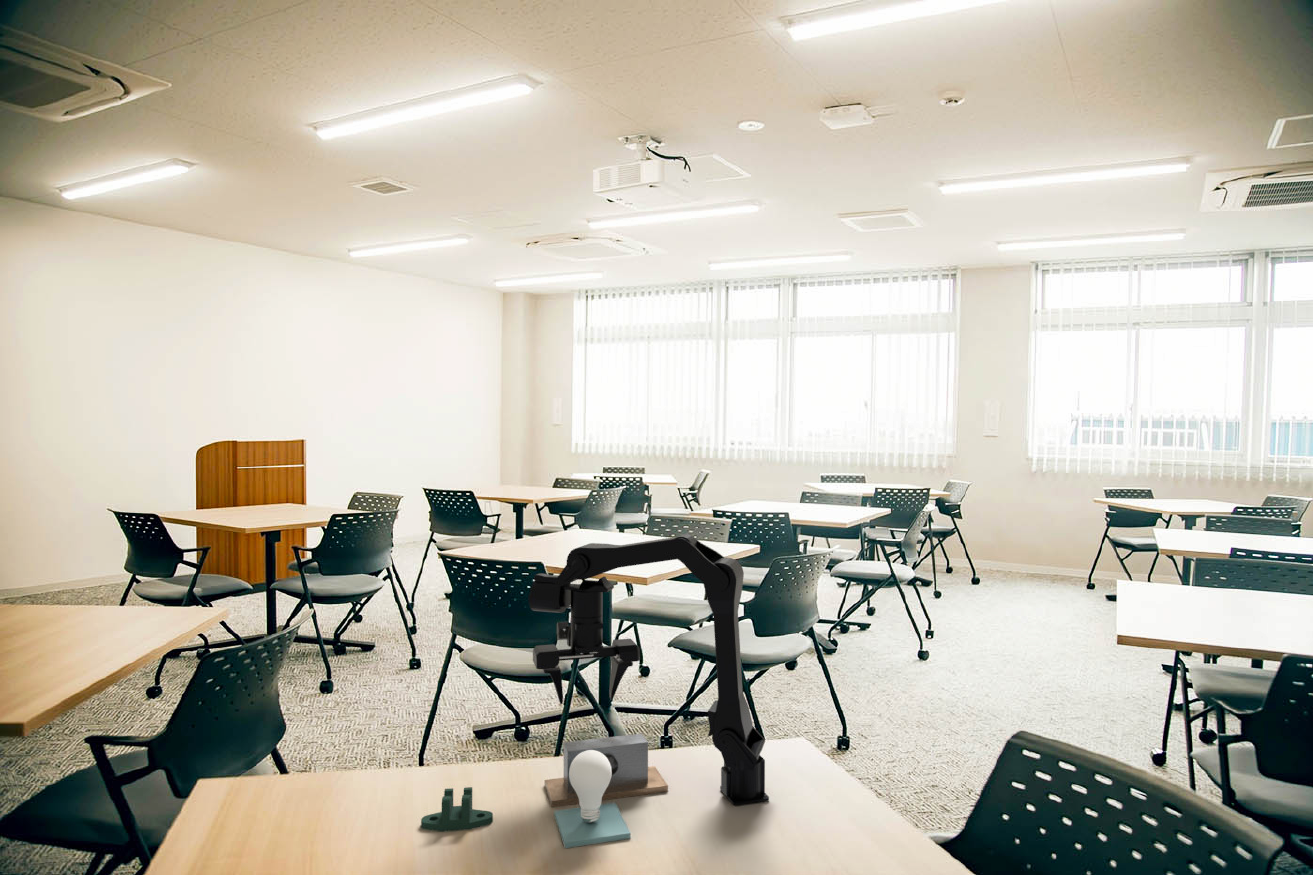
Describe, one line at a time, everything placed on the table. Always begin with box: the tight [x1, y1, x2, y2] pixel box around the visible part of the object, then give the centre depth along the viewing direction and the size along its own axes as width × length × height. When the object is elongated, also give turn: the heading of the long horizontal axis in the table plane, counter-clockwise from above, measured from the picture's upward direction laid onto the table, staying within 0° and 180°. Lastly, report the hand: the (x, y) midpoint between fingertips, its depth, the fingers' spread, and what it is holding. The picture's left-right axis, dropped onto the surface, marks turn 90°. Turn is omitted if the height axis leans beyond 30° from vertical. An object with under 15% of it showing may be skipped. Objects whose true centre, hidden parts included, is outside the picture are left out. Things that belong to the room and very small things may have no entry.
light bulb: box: [569, 750, 612, 823], centre depth 119 cm, size 7×7×11 cm
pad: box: [553, 802, 631, 849], centre depth 119 cm, size 10×10×1 cm
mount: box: [420, 786, 494, 833], centre depth 120 cm, size 11×4×5 cm, turn 98°
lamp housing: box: [544, 733, 669, 808], centre depth 132 cm, size 20×8×8 cm, turn 106°
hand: (586, 700), depth 138 cm, fingers open, 9 cm apart
